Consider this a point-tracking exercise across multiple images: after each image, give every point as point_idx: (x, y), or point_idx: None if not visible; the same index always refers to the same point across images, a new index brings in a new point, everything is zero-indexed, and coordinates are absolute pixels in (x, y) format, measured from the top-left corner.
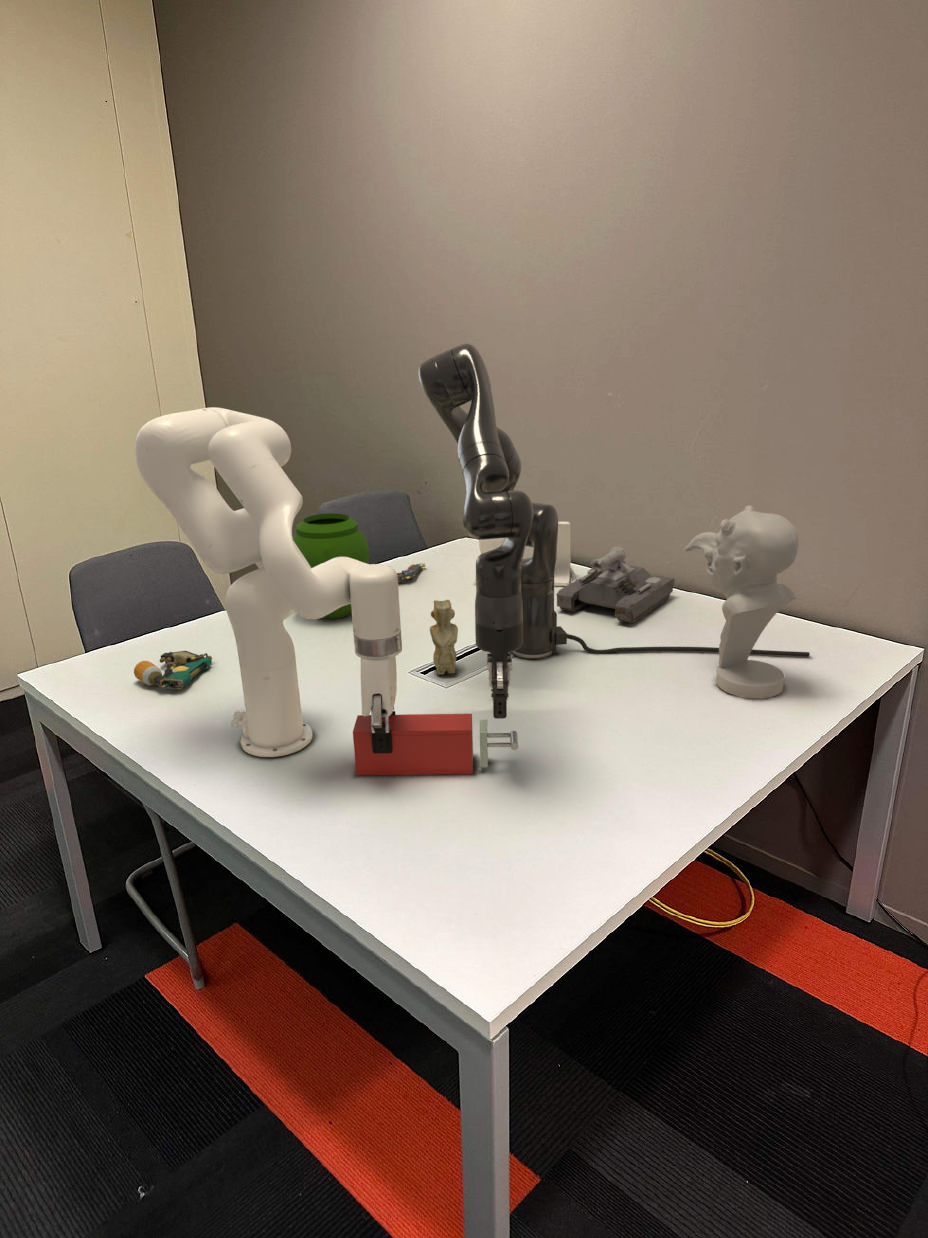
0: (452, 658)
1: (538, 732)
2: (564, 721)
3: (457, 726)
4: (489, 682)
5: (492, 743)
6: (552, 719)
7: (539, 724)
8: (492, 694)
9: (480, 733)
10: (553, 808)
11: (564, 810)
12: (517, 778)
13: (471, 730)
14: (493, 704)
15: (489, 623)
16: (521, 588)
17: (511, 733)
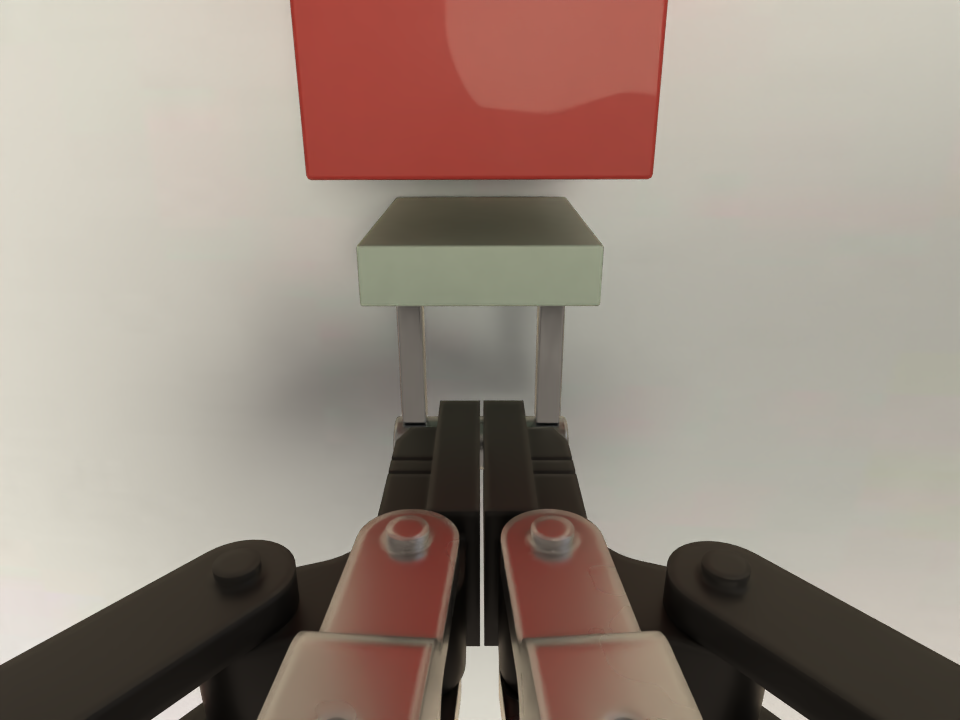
0: None
1: (807, 499)
2: (894, 616)
3: (372, 28)
4: (276, 686)
5: (409, 311)
6: (932, 569)
7: (894, 509)
8: (37, 645)
9: (356, 250)
10: (104, 519)
11: (97, 558)
12: (345, 383)
13: (308, 178)
14: (433, 468)
15: None
16: None
17: None
